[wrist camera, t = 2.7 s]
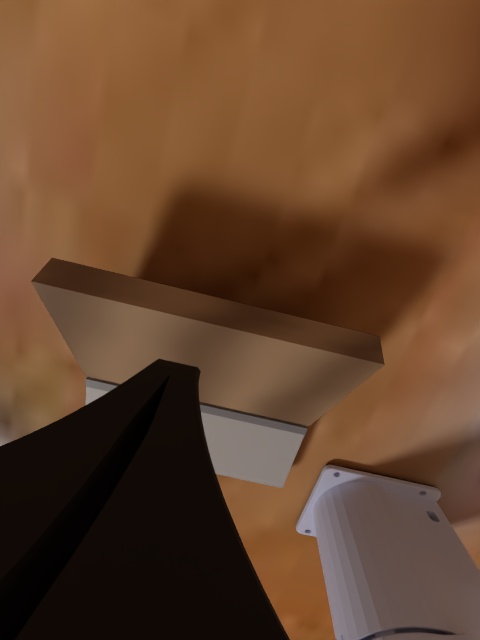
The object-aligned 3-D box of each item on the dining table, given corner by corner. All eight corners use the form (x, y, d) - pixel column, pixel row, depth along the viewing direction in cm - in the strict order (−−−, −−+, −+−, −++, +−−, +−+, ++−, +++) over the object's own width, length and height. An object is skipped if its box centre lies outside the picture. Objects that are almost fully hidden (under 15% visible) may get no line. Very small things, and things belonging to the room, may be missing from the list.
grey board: (304, 412, 20) (308, 428, 19) (280, 470, 23) (282, 489, 21) (98, 366, 20) (85, 378, 18) (95, 430, 22) (83, 446, 21)
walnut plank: (379, 336, 13) (384, 364, 12) (309, 404, 20) (309, 426, 19) (52, 257, 12) (30, 281, 11) (96, 356, 19) (85, 376, 18)
